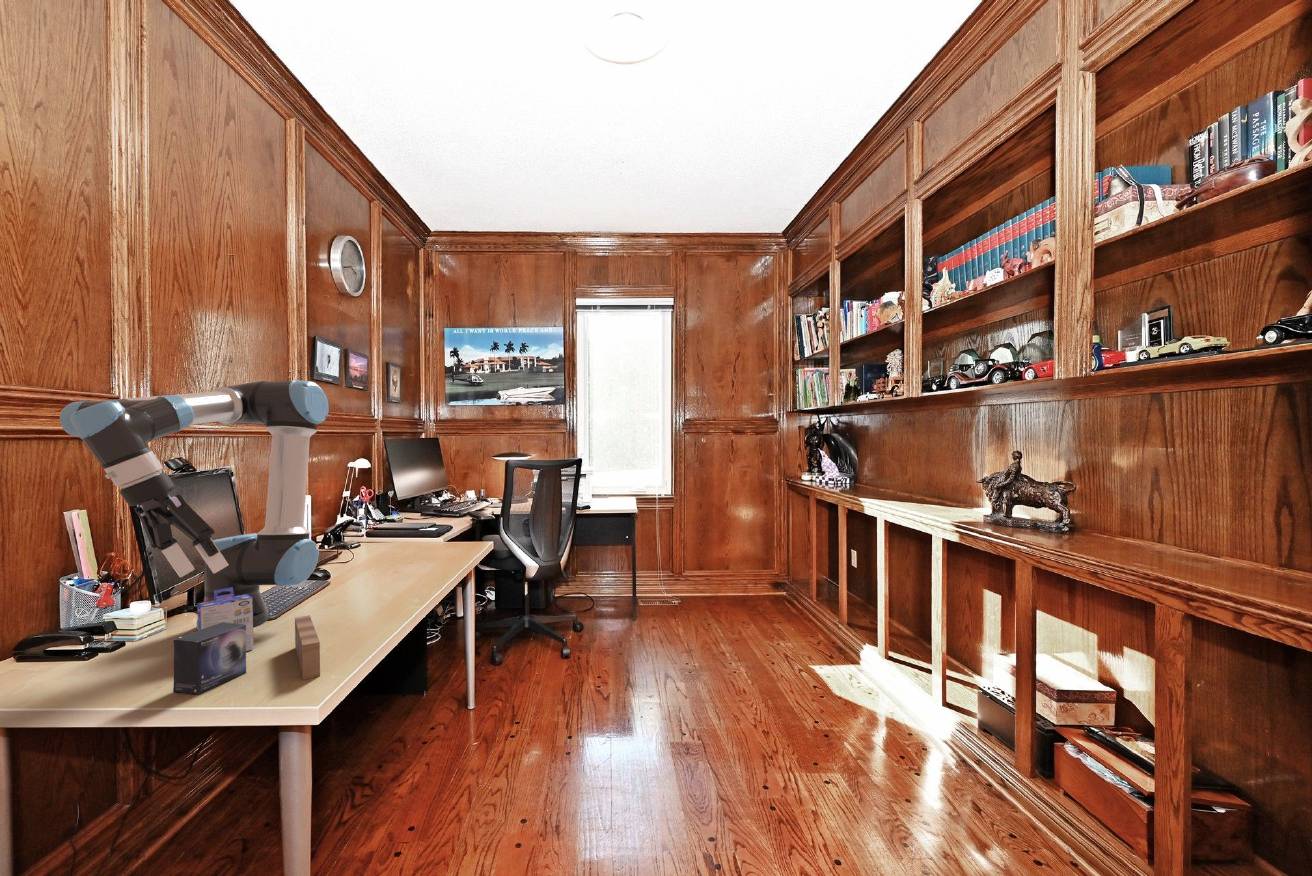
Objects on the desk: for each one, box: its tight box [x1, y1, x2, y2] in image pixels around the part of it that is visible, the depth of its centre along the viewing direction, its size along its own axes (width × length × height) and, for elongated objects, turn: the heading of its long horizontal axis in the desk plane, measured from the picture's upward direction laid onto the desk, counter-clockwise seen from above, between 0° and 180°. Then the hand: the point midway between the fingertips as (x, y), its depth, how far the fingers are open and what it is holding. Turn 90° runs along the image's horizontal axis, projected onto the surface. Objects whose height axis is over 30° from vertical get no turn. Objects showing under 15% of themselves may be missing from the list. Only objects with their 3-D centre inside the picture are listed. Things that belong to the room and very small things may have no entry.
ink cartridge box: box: [196, 587, 254, 652], centre depth 131 cm, size 10×6×14 cm, turn 137°
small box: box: [172, 622, 247, 695], centre depth 116 cm, size 11×6×10 cm, turn 168°
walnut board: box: [294, 615, 321, 681], centre depth 126 cm, size 22×3×7 cm, turn 36°
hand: (204, 571), depth 117 cm, fingers open, 13 cm apart
